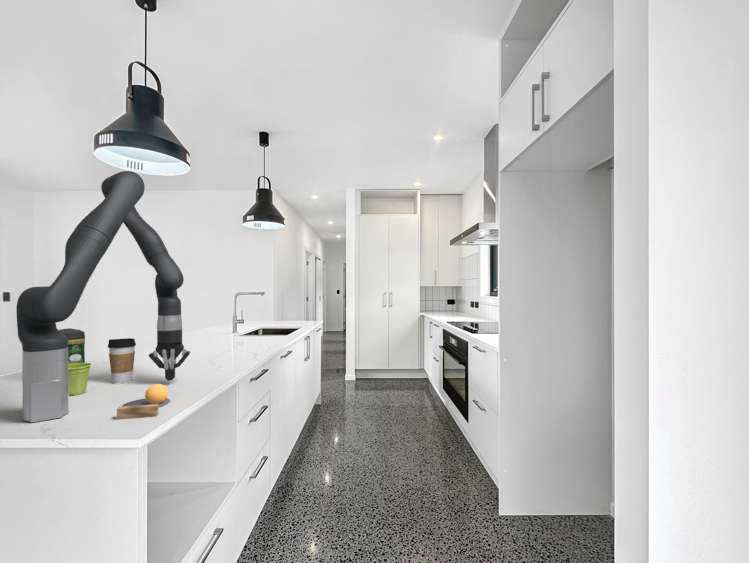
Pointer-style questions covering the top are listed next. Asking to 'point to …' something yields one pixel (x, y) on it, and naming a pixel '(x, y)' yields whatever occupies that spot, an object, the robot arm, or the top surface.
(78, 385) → the plant pot
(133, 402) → the disc
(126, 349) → the coffee cup
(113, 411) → the top surface
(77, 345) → the coffee jar
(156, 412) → the block
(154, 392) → the ball
